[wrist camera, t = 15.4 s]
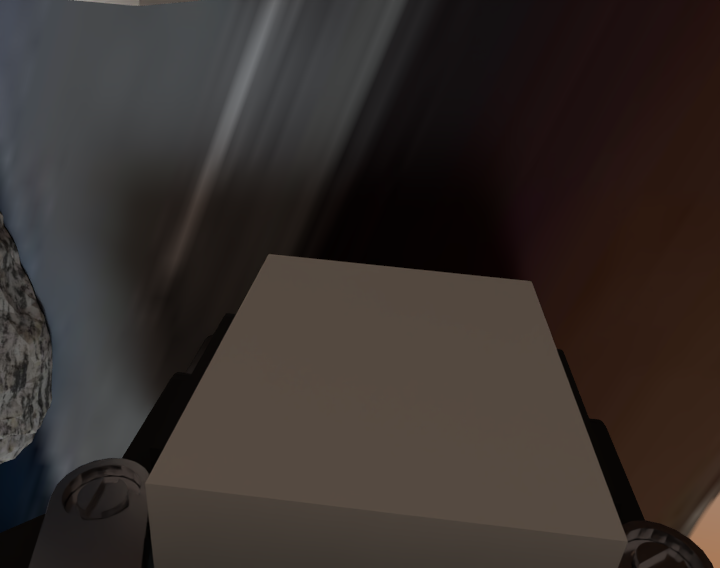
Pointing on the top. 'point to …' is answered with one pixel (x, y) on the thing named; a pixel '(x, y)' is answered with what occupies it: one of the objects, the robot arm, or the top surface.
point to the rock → (21, 355)
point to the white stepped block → (382, 432)
